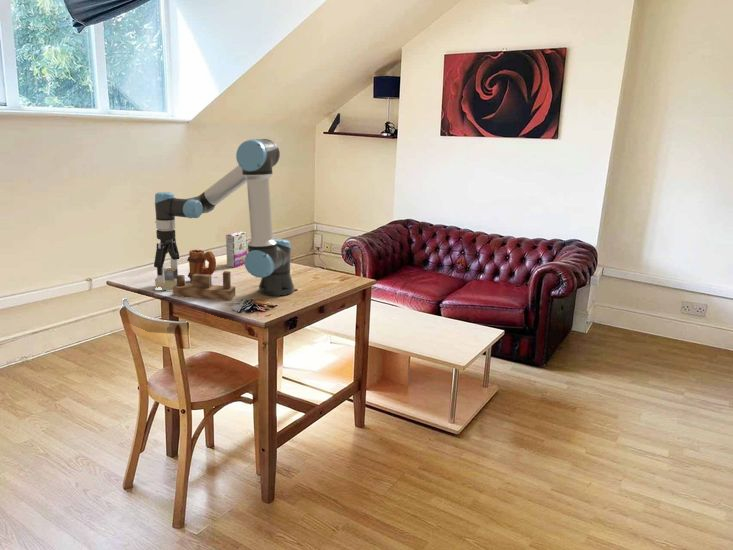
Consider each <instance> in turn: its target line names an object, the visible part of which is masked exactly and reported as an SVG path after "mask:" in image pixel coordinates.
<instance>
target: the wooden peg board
mask: <svg viewBox="0 0 733 550" xmlns="http://www.w3.org/2000/svg"><path fill="white" fill-rule="evenodd" d="M185 278H186V277H185V275H183V274H178V275H177V285H175V286H174V287H173V292H172V297H173V296H177V297H176V298H186V297H187V299H191V298H192V299H201V300H202V299H205V300H217V301H228V302H229V301H230V302H231V301H232V300H233V299H234V298H235V297H236V295H237V294H236V286H232V285H231V271H228V270H226V271H225V270H224V271H223V272H222V285H219V284H217V285H216V284H212V283H213V282H212V275H207V274H194V275H192V282H191V283H190V282H189V283H187V282H186V279H185Z"/></svg>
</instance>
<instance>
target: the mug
mask: <svg viewBox="0 0 733 550" xmlns="http://www.w3.org/2000/svg"><path fill="white" fill-rule="evenodd" d="M188 255H189V256H188V258H187V262H189V263H188V265H189V272H188V274H187V277H188V278H189V281H190V282H191V283H192V275H194V274H207V275H211V276H212V275H213V274H214V273H215V270H216V267H217V261H216V257H215V255H214V253H213V251H210V250H207V251H206V252H205V251H204V250H202V249H191V250H189V253H188ZM206 262H208V266H207V267H206Z"/></svg>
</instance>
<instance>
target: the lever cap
mask: <svg viewBox="0 0 733 550" xmlns="http://www.w3.org/2000/svg"><path fill="white" fill-rule="evenodd" d="M178 269H179V268H177V269H175V268H171V267H164V279H165V280H171V281H174V280H176V279H177V275H179V272H178Z"/></svg>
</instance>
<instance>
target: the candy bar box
mask: <svg viewBox="0 0 733 550" xmlns="http://www.w3.org/2000/svg"><path fill="white" fill-rule="evenodd" d="M225 242H226V243H225V244H226V245H225V247H226V249H225V250H226V267H227V268H234V269H235V268H238V267H241V266H243V264H244V260H245V257H246V255H247V254H248V243H247V231H246V232H245V231H236V232H232V233H228V234H225ZM240 265H241V266H240ZM244 265H245V264H244Z"/></svg>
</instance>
